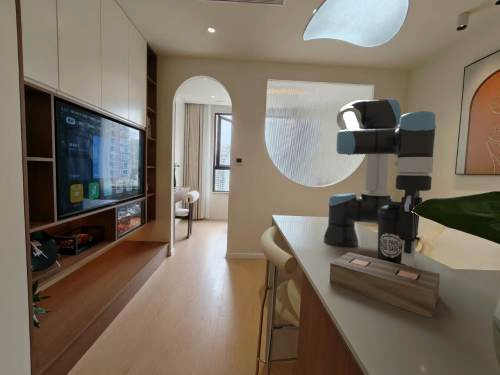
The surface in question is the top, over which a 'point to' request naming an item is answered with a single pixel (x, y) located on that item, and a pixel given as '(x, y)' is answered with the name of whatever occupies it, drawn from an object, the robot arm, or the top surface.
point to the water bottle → (390, 233)
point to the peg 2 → (408, 275)
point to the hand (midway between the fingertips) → (407, 264)
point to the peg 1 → (360, 262)
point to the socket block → (387, 282)
